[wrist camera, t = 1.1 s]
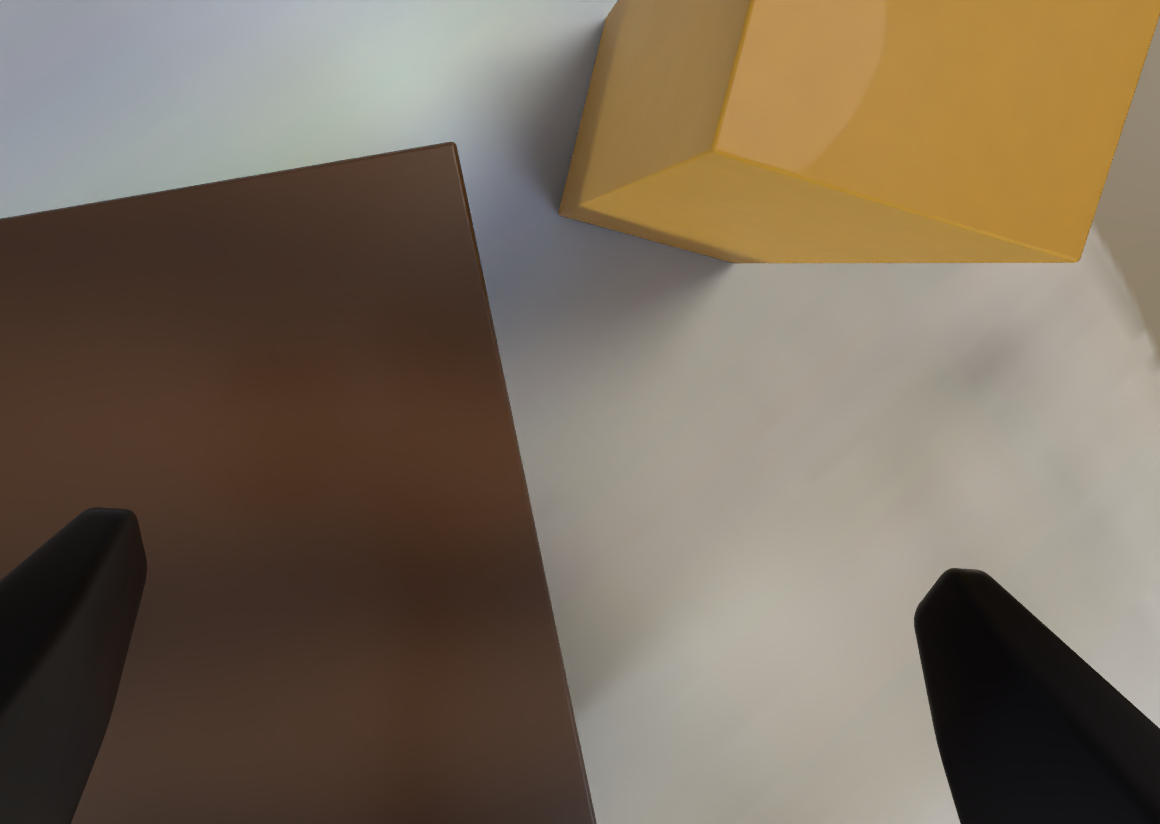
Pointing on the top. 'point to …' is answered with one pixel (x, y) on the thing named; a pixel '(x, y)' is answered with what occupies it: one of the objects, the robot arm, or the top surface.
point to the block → (857, 126)
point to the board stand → (293, 498)
